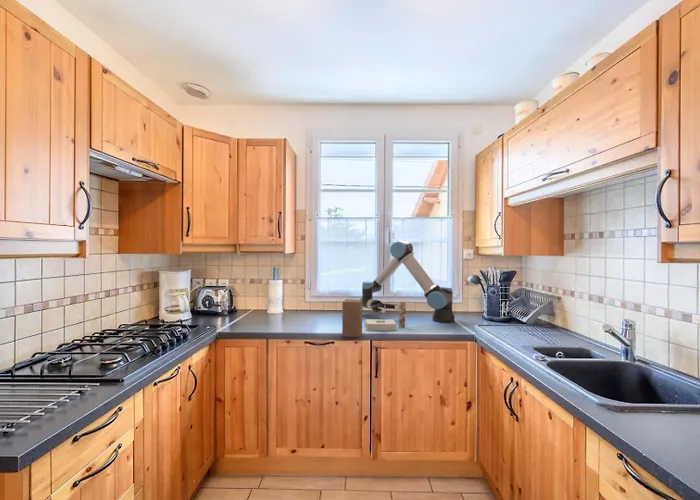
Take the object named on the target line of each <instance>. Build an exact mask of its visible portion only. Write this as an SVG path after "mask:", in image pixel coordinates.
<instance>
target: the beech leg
mask: <svg viewBox="0 0 700 500" xmlns="http://www.w3.org/2000/svg"><path fill="white" fill-rule="evenodd" d="M406 303H407V302H406V301H401V300H400V301H398V306H399V310H398V327H399V328H401V329H402V328H403V329H404V328H405V326H406V309H407V308H406Z"/></svg>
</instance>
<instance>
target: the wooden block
mask: <svg viewBox="0 0 700 500" xmlns="http://www.w3.org/2000/svg"><path fill="white" fill-rule="evenodd" d="M341 307H342V311H341V312H342V313H341V314H342V318H341V319H342V324H341V326H342V328H341V329H342V330H341V331H342V333H341V336H342V337H345V338H360V337H361V335H362V334H363V306H362V300H360V299H349V298H347V299H344V300H343V301H342V306H341Z"/></svg>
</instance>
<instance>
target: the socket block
mask: <svg viewBox="0 0 700 500" xmlns="http://www.w3.org/2000/svg"><path fill="white" fill-rule="evenodd" d="M365 328H366V331H368V332H370V331H372V332H373V331H377V332H378V331H381V332H382V331H386V332H387V331H388V332H389V331H394V332H396V331H397V323H396V321H395V319H386V318H385V319H382V318H381V319H371V318H370V319H369V318H367V319H365Z"/></svg>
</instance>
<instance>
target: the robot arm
mask: <svg viewBox="0 0 700 500" xmlns="http://www.w3.org/2000/svg"><path fill="white" fill-rule="evenodd" d="M389 253H390V255H391V256H392V258H391V260H389V262H388V263H387V264H386V265H385V267H384V268H383V269H382V270H381V272H380V273H378V275H377V277H376V278H375V279H374V280H373V281H372V280H364V281H362V286H361V287H362V289H361V291H362V292H361V293H362V294H361V298H360V299H359V300H362V308H365V309H368V310H371V311H373V312H376V313H379V312H380V313H383V314H385V313H386V310H387V309H388V310H389V309H391V310H392V309H393V310H396V311H399V304H397V303H396V304H394V303H387V302H386V303H383V302H382V301H381V300H379V299H375V298H373V294H374V293H379V292H380V291H381V290H382V289H383V286H384V285H385V284H386V283H387V281H388V280H389V279H390V278H391V277H392V275H393V274H394V273H395V272H396V270H397V269H398V268H399V267H400V266H401V264H403V265H404V267H405V268H406V269H407V271H408V272H409V273H410V275H411V276H412V278H413V279H414V280H415V281H416V283H417V284H418V285H419V287H420V288H421V289H422V291H423V292H424V294H423V296H424V297H425V298H426V303H427V305H428V306H429V307H430V308H431V309H434V311H433V313H432V321H433V322H437V323H447V324H448V323H453V322H455V321H456V317H455V314H454V311H453V297H454V296H453V295H454V292H453V289H452V287H445V286H444V287H443V286H440V285H439V284H435V281H433V280H432V279H431V277H430V276H429V275H428V273H427V272H426V271H425V270H424V268H423V267H422V266H421V264H420V263H419V261H418V260H417V258H416V257H415V256H414V254H415V252H414V247H413V244H412V243H411V242H410V241H408V240H396V241H393V242H392V243H391V245H390V247H389Z"/></svg>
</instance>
